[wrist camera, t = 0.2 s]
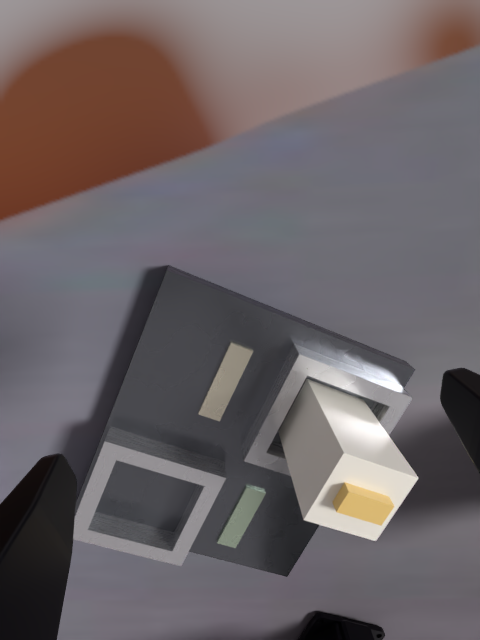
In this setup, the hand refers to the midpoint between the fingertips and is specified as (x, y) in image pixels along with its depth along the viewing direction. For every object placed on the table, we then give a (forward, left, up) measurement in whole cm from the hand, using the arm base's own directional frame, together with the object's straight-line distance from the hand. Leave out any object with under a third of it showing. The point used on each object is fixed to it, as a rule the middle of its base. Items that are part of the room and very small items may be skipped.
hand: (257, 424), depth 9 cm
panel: (-10, -5, -15) cm, 18 cm away
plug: (-6, -9, -14) cm, 17 cm away
